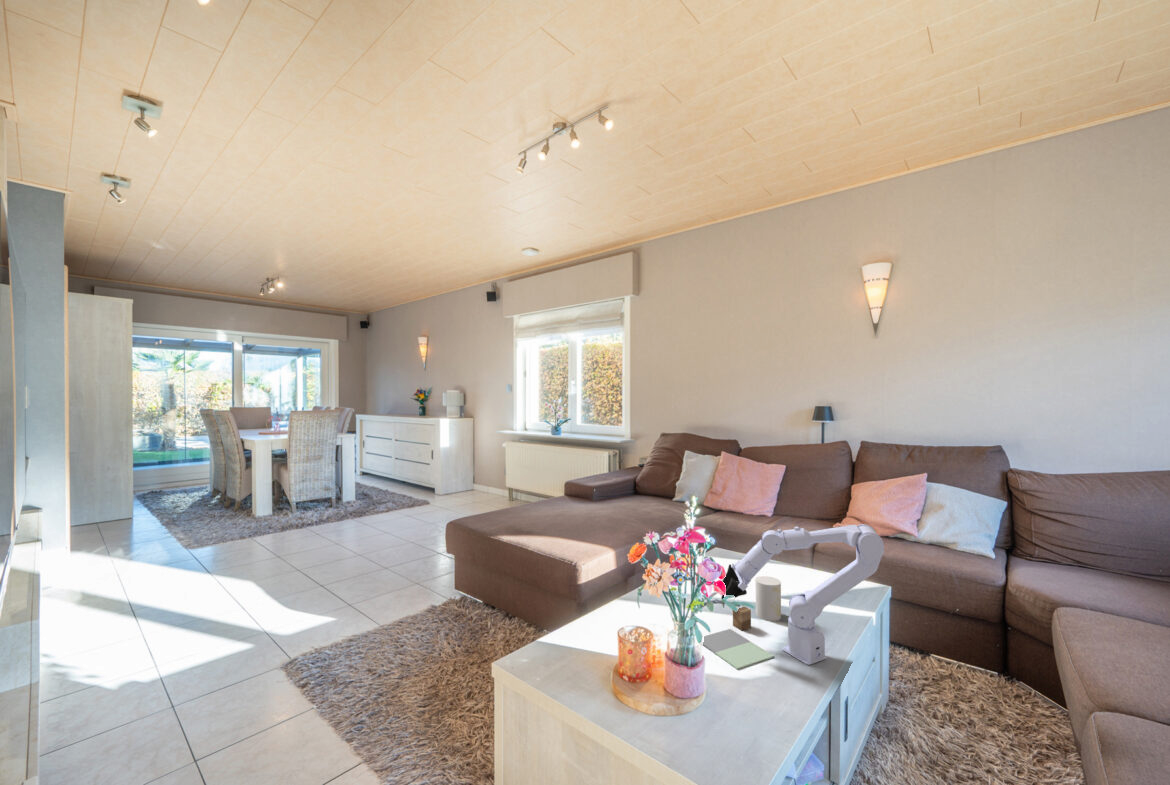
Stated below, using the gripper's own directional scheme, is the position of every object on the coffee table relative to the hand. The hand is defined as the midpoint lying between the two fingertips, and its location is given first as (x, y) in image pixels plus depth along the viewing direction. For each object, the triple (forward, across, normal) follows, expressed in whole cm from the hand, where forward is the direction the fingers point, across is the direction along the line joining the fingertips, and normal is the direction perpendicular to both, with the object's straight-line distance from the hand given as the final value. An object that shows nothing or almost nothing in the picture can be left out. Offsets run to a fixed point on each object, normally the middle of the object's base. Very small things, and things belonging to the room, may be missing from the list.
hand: (723, 593), depth 149 cm
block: (+8, -8, +14) cm, 19 cm away
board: (+9, +6, +11) cm, 15 cm away
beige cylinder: (+3, -19, +23) cm, 30 cm away
